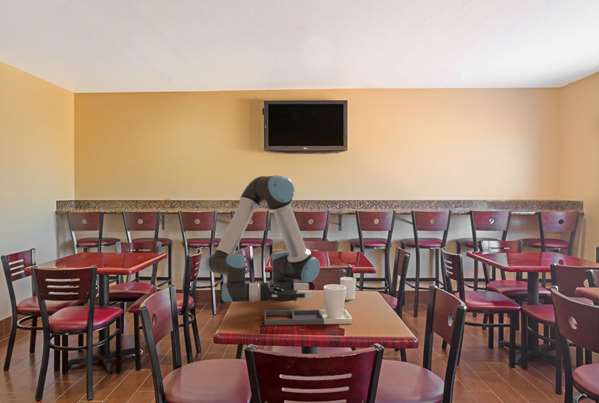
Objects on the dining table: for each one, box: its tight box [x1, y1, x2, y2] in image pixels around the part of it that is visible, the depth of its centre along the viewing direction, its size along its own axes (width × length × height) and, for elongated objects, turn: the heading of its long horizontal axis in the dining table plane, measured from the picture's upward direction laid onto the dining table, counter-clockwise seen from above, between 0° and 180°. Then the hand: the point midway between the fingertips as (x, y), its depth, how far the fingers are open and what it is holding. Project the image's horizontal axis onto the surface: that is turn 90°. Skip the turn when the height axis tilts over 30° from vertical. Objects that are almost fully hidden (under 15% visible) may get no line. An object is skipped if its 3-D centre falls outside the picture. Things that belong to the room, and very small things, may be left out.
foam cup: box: [323, 283, 346, 319], centre depth 167 cm, size 10×9×13 cm
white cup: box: [339, 276, 357, 301], centre depth 201 cm, size 8×8×10 cm
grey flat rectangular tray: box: [264, 309, 353, 326], centre depth 166 cm, size 35×13×2 cm, turn 95°
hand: (310, 290), depth 167 cm, fingers open, 13 cm apart
